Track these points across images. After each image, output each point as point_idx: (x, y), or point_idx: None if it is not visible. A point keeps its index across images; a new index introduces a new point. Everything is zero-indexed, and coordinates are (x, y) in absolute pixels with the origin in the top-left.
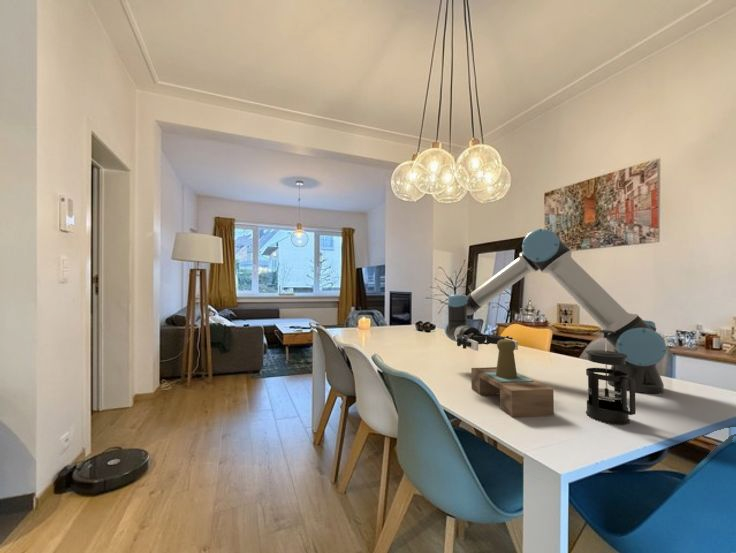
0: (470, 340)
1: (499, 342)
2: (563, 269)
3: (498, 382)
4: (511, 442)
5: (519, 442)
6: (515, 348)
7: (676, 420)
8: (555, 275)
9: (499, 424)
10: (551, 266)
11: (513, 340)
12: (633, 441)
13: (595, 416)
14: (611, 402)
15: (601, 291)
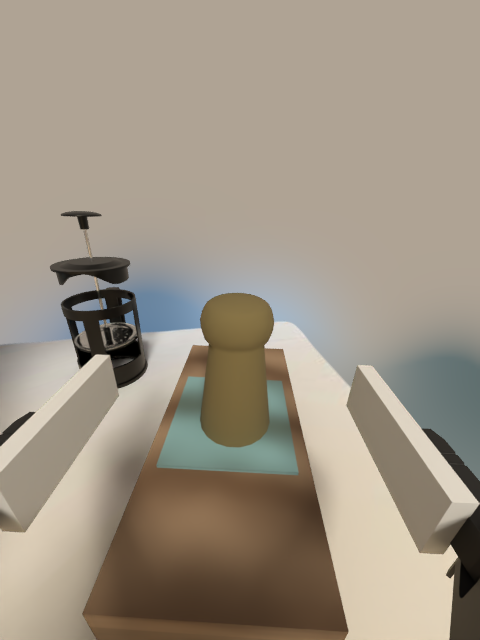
0: (418, 429)
1: (270, 308)
2: None
3: (288, 385)
4: (312, 347)
5: (303, 346)
6: (115, 391)
7: (32, 353)
8: None
9: (311, 377)
10: None
11: (82, 375)
12: (173, 334)
13: (144, 364)
14: (79, 362)
15: None
